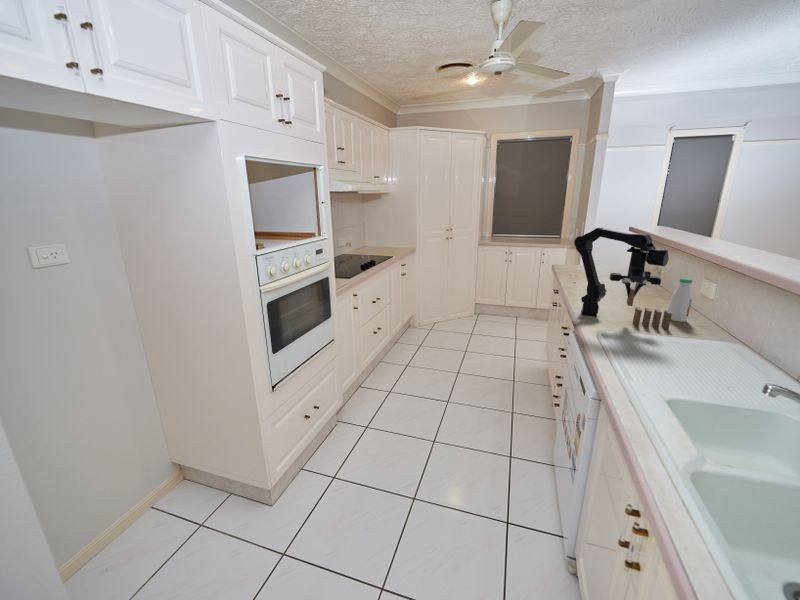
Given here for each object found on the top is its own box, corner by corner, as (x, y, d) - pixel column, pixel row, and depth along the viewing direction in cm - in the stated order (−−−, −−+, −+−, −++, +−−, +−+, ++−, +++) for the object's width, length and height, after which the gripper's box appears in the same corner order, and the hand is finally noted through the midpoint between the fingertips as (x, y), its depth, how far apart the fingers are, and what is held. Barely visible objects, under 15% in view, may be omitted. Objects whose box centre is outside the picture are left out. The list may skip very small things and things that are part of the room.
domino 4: (654, 328, 157) (657, 312, 155) (651, 324, 161) (654, 309, 159) (658, 328, 156) (661, 312, 154) (655, 325, 161) (659, 309, 159)
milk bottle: (681, 323, 163) (691, 281, 158) (663, 318, 170) (672, 277, 164) (690, 320, 167) (700, 279, 161) (671, 316, 173) (681, 276, 168)
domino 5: (664, 329, 156) (667, 313, 153) (661, 325, 160) (664, 310, 158) (668, 329, 155) (672, 313, 153) (665, 326, 159) (669, 310, 157)
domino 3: (644, 326, 158) (647, 311, 156) (641, 323, 163) (645, 307, 161) (648, 327, 158) (651, 311, 156) (646, 323, 162) (649, 308, 160)
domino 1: (628, 305, 158) (631, 289, 156) (626, 302, 162) (629, 287, 160) (632, 306, 157) (635, 289, 155) (630, 303, 162) (633, 287, 160)
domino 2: (634, 325, 160) (637, 309, 158) (632, 322, 164) (635, 306, 162) (638, 326, 159) (642, 310, 157) (636, 322, 164) (639, 307, 161)
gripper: (615, 264, 152) (608, 299, 156) (667, 268, 144) (659, 304, 148) (612, 260, 161) (606, 293, 166) (661, 263, 154) (654, 298, 158)
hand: (630, 297), depth 159 cm, fingers closed on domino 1, 2 cm apart
